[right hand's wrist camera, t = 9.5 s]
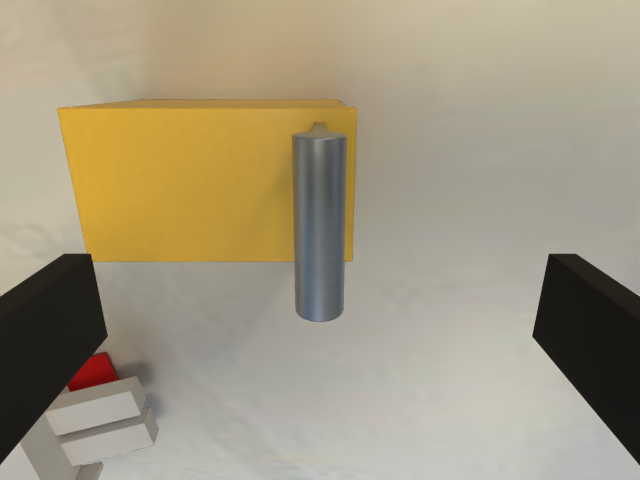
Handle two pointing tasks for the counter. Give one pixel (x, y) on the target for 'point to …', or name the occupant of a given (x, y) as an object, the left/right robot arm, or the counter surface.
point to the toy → (84, 427)
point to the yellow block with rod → (220, 189)
